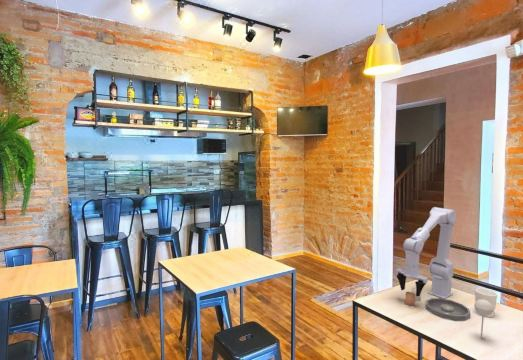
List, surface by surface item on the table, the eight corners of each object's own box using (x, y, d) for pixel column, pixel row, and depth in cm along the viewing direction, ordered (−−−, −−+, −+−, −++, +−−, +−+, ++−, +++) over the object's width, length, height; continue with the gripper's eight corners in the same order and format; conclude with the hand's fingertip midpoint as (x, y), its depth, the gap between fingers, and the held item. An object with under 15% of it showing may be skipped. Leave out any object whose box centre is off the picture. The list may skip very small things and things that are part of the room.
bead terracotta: (408, 301, 151) (408, 291, 151) (416, 304, 148) (416, 294, 148) (403, 303, 149) (403, 292, 149) (411, 306, 146) (412, 296, 145)
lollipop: (491, 344, 117) (494, 305, 116) (472, 339, 120) (475, 301, 119) (490, 336, 122) (492, 299, 121) (471, 331, 125) (474, 295, 124)
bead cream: (414, 297, 156) (415, 287, 156) (422, 300, 153) (422, 290, 152) (409, 298, 154) (410, 288, 153) (417, 302, 151) (418, 292, 150)
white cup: (496, 313, 141) (498, 291, 140) (494, 320, 135) (495, 297, 134) (475, 307, 146) (477, 286, 145) (472, 313, 140) (473, 291, 139)
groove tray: (437, 299, 154) (438, 295, 154) (476, 313, 140) (477, 309, 140) (418, 307, 145) (418, 303, 144) (458, 324, 130) (458, 320, 130)
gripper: (392, 261, 151) (391, 288, 152) (422, 270, 139) (420, 300, 140) (401, 259, 155) (399, 285, 156) (430, 268, 143) (429, 297, 144)
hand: (410, 292), depth 148 cm, fingers open, 7 cm apart
